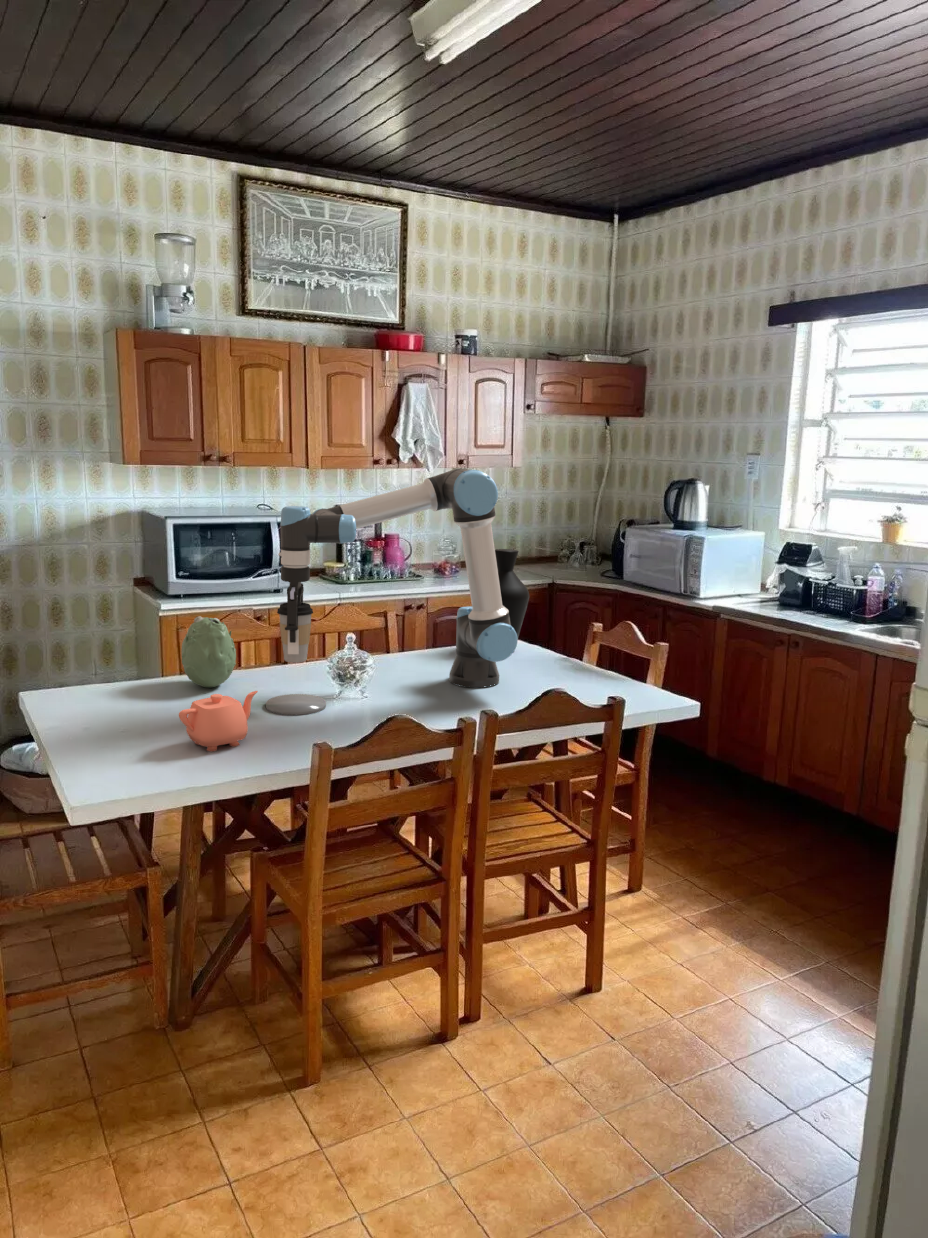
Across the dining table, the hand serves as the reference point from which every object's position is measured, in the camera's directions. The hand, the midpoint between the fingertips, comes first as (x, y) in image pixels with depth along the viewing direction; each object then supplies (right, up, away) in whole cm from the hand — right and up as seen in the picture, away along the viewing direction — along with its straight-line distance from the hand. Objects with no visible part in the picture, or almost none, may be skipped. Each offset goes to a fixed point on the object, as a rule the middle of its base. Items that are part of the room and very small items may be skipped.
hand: (295, 649), depth 245 cm
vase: (+58, -3, +72) cm, 93 cm away
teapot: (-13, -21, -27) cm, 37 cm away
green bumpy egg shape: (-28, -11, +19) cm, 36 cm away
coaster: (0, -15, +3) cm, 16 cm away
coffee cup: (0, -3, +1) cm, 3 cm away
